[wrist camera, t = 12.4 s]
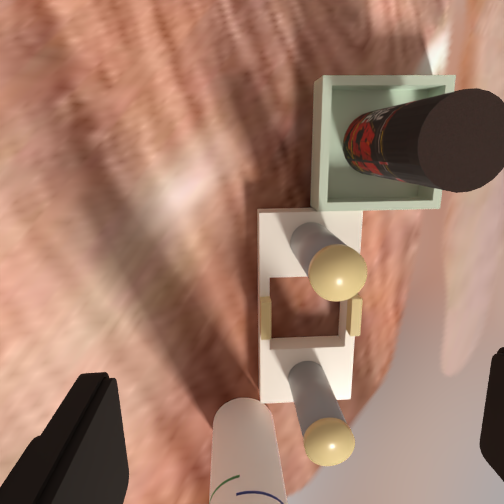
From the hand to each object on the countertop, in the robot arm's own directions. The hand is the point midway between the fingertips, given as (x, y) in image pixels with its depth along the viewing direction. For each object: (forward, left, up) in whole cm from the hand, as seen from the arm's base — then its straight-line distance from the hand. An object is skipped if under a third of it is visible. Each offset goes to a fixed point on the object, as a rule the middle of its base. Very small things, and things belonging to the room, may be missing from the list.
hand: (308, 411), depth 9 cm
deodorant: (-6, +12, -30) cm, 33 cm away
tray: (-6, +12, -31) cm, 33 cm away
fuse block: (+10, +6, -31) cm, 33 cm away
